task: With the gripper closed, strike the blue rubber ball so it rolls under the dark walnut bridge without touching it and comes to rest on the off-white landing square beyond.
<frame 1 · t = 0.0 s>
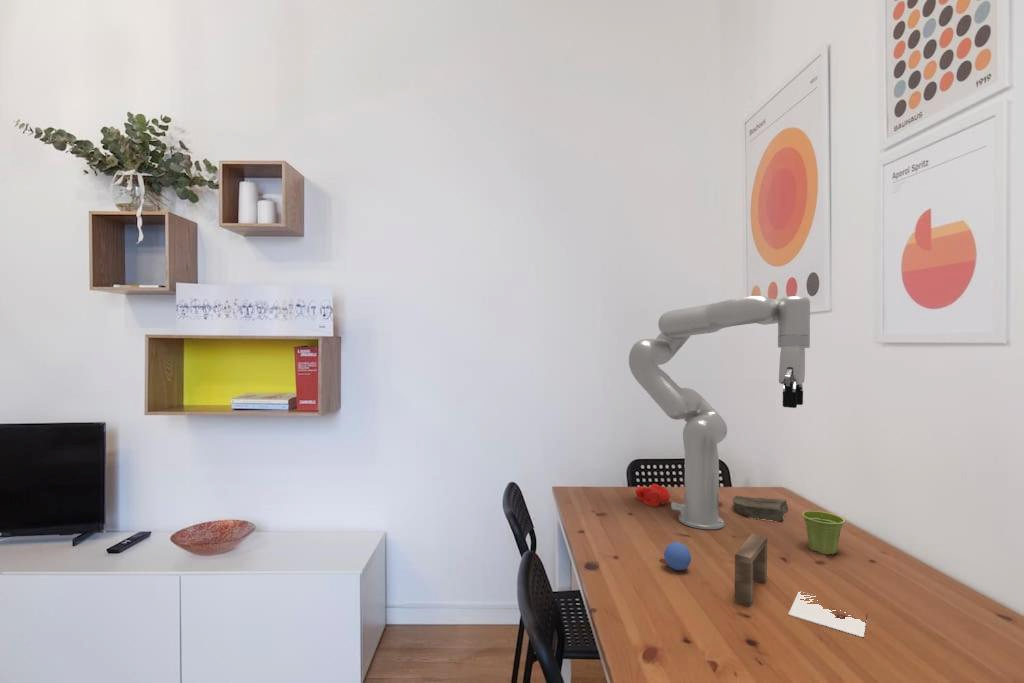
hand: (793, 405, 134), 37 cm above the table, tool pointing down, fingers open, 9 cm apart
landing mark: (828, 613, 98), on the table
plant pot: (822, 551, 129), on the table
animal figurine: (652, 501, 170), on the table
ball: (677, 556, 116), on the table
bridge: (751, 590, 106), on the table
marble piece: (761, 515, 158), on the table
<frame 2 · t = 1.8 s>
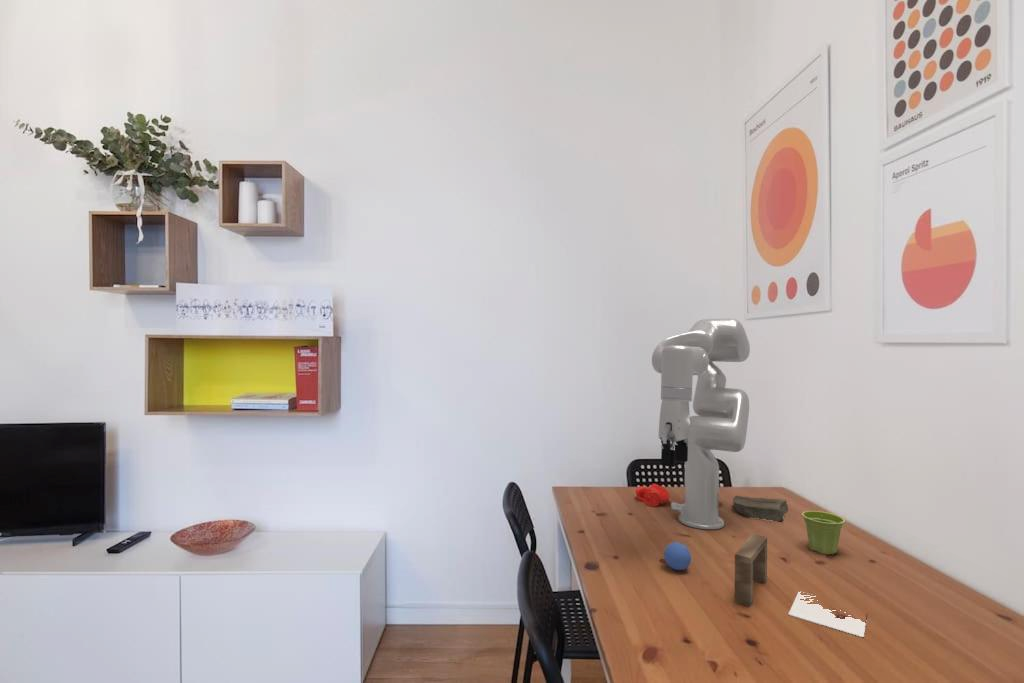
hand: (674, 463, 124), 23 cm above the table, tool pointing down, fingers open, 9 cm apart
nothing on the table moved.
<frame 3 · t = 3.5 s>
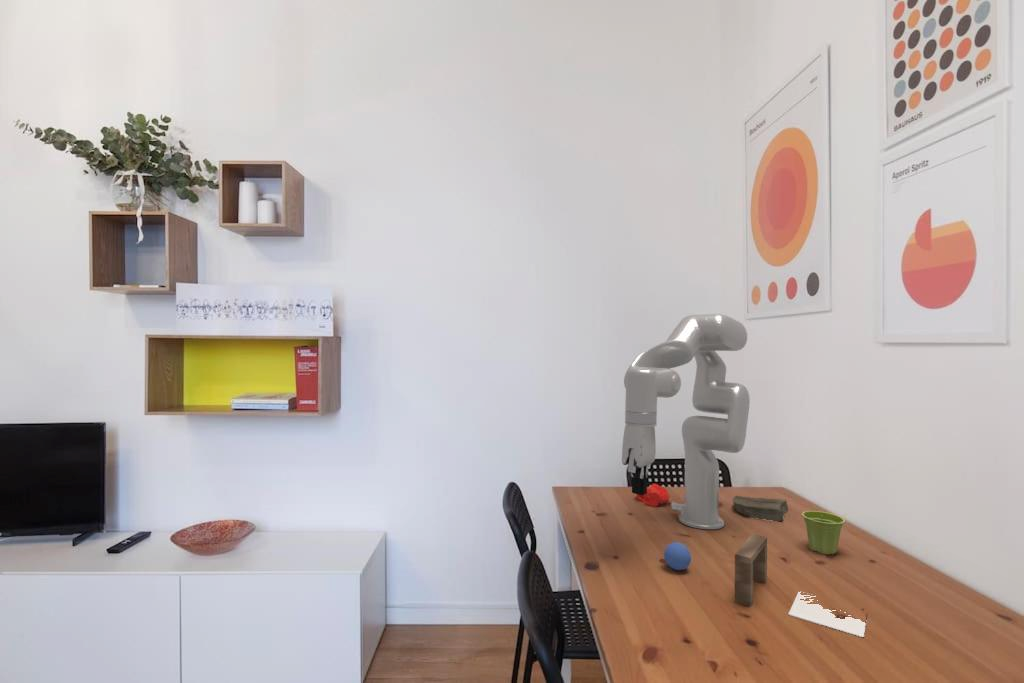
hand: (639, 493, 122), 16 cm above the table, tool pointing down, fingers closed
nothing on the table moved.
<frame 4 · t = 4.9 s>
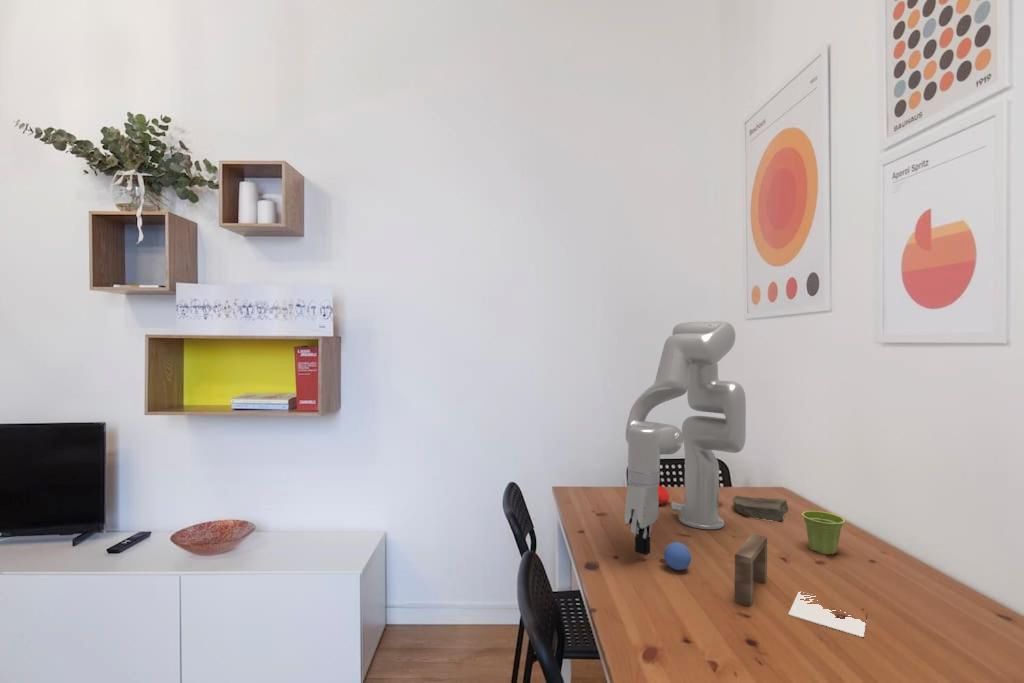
hand: (642, 552, 122), 2 cm above the table, tool pointing down, fingers closed
nothing on the table moved.
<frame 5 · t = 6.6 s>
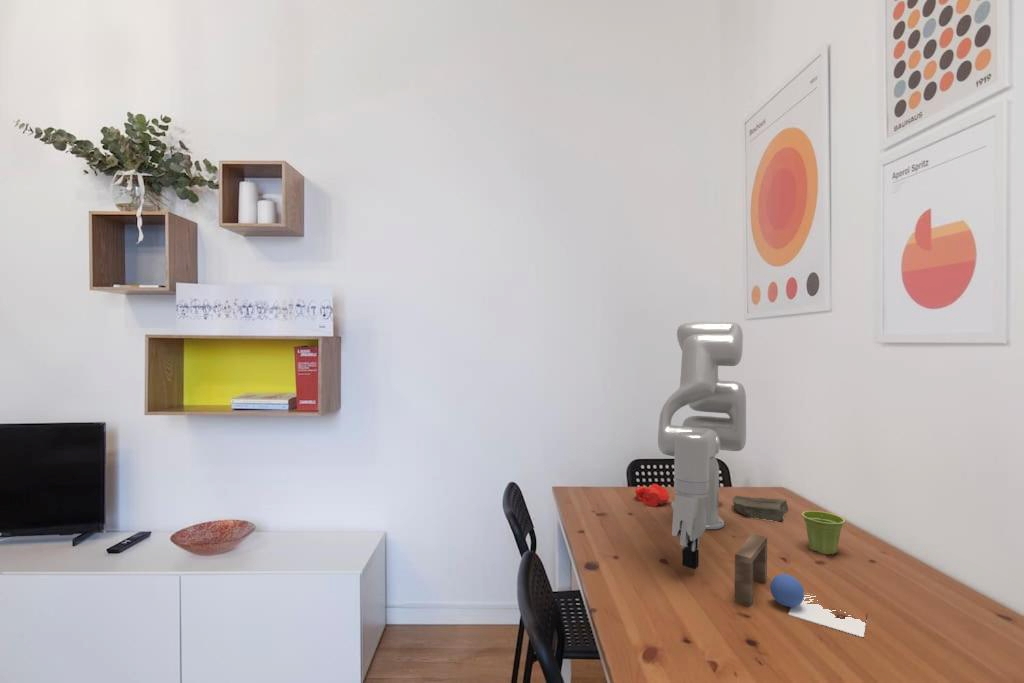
hand: (690, 566, 115), 2 cm above the table, tool pointing down, fingers closed
ball: (787, 590, 100), on the table
everything else where it was.
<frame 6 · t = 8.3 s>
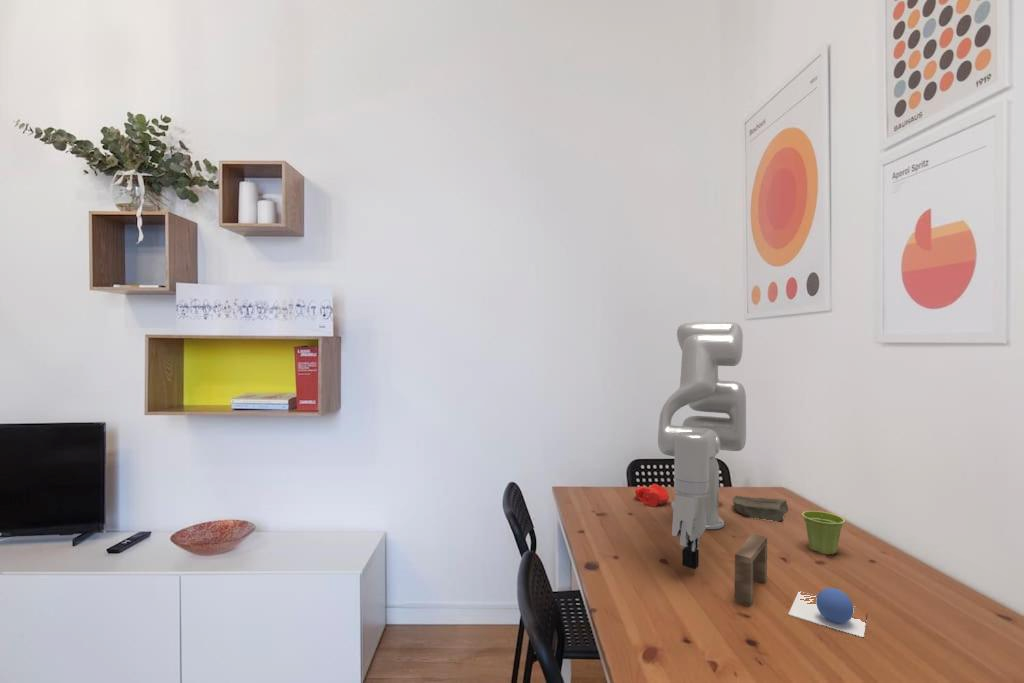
hand: (690, 566, 115), 2 cm above the table, tool pointing down, fingers closed
ball: (834, 605, 95), on the table
everything else where it was.
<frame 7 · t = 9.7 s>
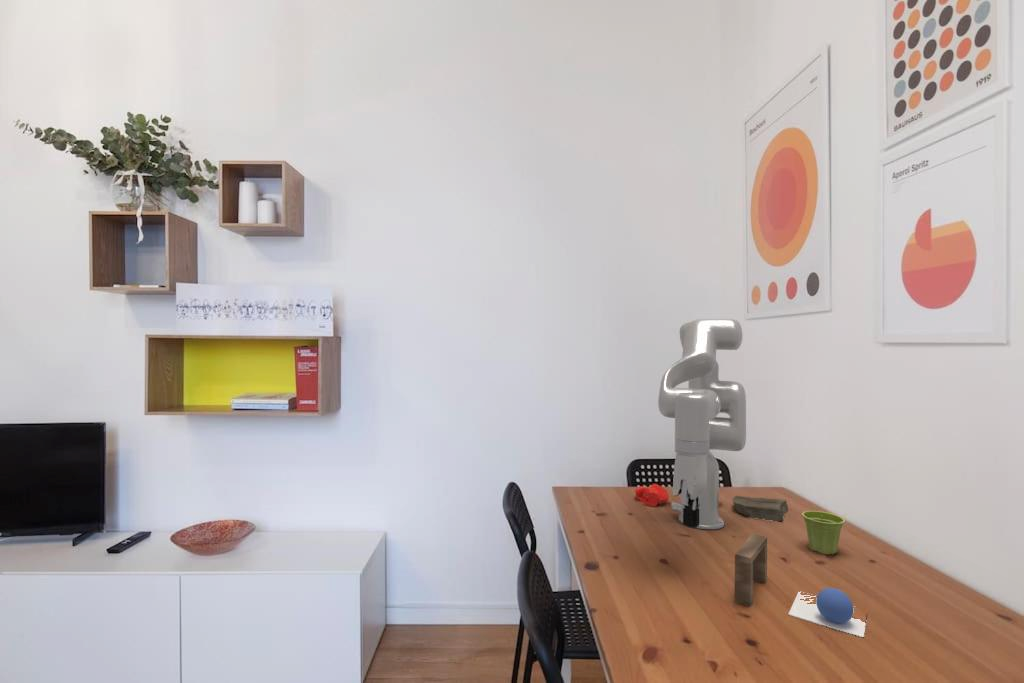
hand: (691, 525, 115), 11 cm above the table, tool pointing down, fingers closed
nothing on the table moved.
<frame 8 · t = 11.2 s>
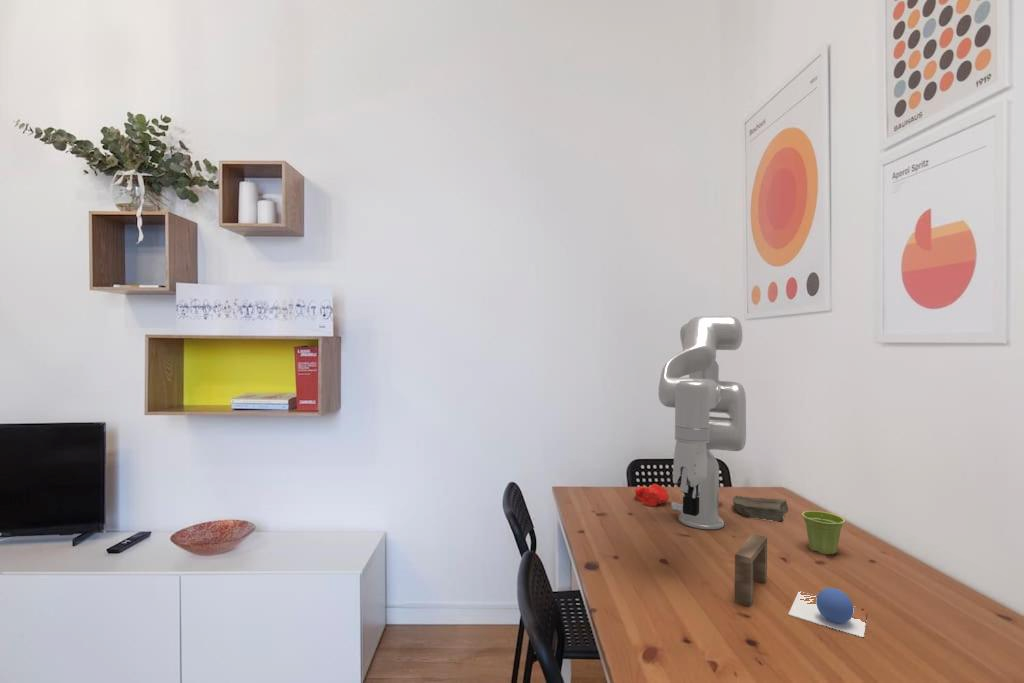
hand: (690, 513, 115), 14 cm above the table, tool pointing down, fingers closed
nothing on the table moved.
at the end: ball 3.0 cm from the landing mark (horizontally); ball never touched bridge; ball at rest at the end (0.0 cm/s) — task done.
